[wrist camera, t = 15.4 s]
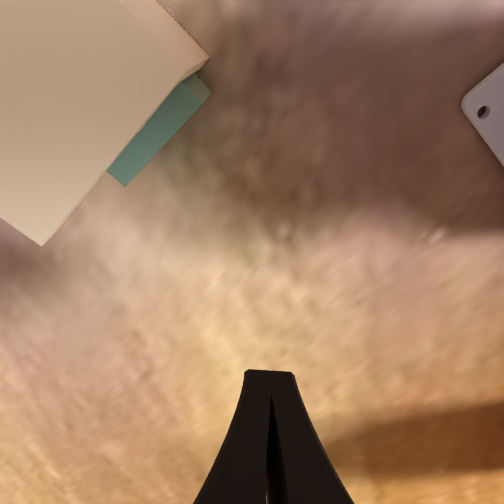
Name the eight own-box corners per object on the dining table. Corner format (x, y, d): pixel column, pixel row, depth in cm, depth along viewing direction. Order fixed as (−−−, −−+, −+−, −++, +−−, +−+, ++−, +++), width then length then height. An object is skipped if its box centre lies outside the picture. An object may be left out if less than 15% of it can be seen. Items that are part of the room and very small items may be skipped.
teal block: (212, 91, 17) (199, 107, 13) (146, 161, 19) (118, 193, 15) (40, -94, 14) (-36, -138, 11) (-21, 7, 16) (-106, 1, 12)
